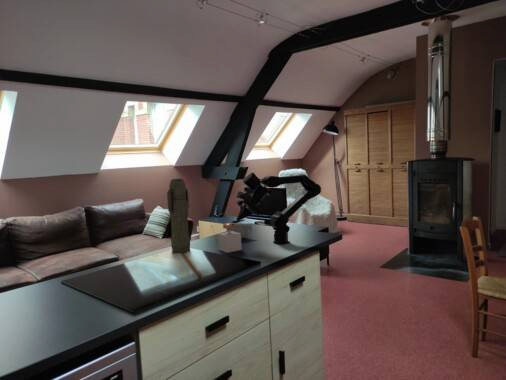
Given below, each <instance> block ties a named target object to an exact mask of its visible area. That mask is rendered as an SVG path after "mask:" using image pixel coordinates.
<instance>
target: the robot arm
mask: <svg viewBox="0 0 506 380" xmlns="http://www.w3.org/2000/svg"><path fill="white" fill-rule="evenodd" d="M242 183H243V184H244V185H245V186H246V187H248V189H249V190H251V191H253V192H252V193H250V192H249V191H247V190H246V191H239V190H238V192H237V195H236V198H238V199H239V200H237V202H236V203H235V204H236V205H237V206H238V207H239V212H238V214H237V217H236V219H235V220H236V221H237V222H240V221H241V220H244V219H245V218H247V217H250V216H252V215H253V212H254V213H255V215H257V216H259V215H260V214H261V212H262V211H261V210H262V209H261V208H260V207H259V206H258V205H259V204H262V201H263V199H264V198H265V197H266V196H272V195H273V194H272V189H271V188H278V187H279V186H281V185H287V184H298V183H299V184H301V186H302V188H303V190H302V192H301V193H300V195H299V196H298V197H296V198H295V199H294V200H293V201H292V202H291V203H290V204H289V205H288V206H287V207H286V208H285V209H283V211H276V212H275V213H274V214H273V215H271V216H270V219H269V225H270V226H271V228H272V229H273V232H274V233H273V241H272V243H273V244H277V245H284V244H285V245H286V244H290V243H291V241H289V232H290V229H291V227H290V226H289V225H288V222H289V219H290V217H292V216H293V215H294V214H295V213H296V212H297V211H298V210H300V208H301V207H302V206H304V204H305V203H307V202H308V201H309V200H311V199H313V198H316V197H317V196H319V195H320V194H321V193H322V187H321V184H318V183H316V182H315V181H314V180H312V179H311V178H310V177H309V176H308V175H306V174H298V175H285V176H276V175H275V176H274V175H265V176H264V177H263V178H259V177H258V176H257V175H256V174H255V173H254V172H251V173H249V174H248V175H246V176H245V177H244V178H243V180H242ZM268 188H270V189H268Z"/></svg>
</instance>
